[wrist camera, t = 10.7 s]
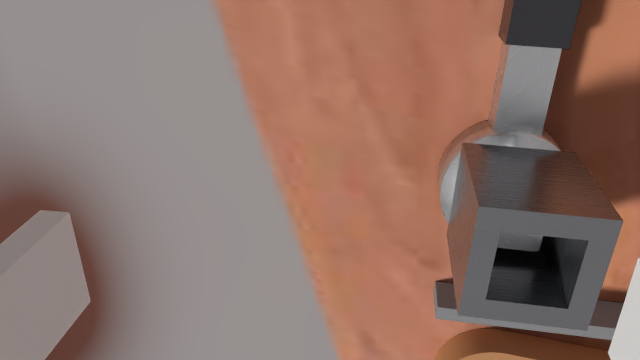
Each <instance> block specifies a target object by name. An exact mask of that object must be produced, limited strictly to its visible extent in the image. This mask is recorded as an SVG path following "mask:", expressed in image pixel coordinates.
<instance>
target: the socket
mask: <svg viewBox="0 0 640 360" xmlns="http://www.w3.org/2000/svg"><path fill="white" fill-rule="evenodd" d="M622 224H623V220H622V218H621V217H620V215H619V214H618V213H617V211H616V210H615V208H614V207H613V206H612V204H611V203H610V201H609V200H608V199H607V197H606V196H605V194H604V193H603V192H602V190H601V189H600V187H599V186H598V185H597V183H596V182H595V180H594V179H593V178H592V176H591V175H590V173H589V172H588V171H587V169H586V168H585V166H584V165H583V164H582V162H581V161H580V159H579V158H578V157H577V155H576V154H575V152H566V151H554V150H543V149H532V148H520V147H509V146H498V145H486V144H475V143H464V142H462V147H461V153H460V159H459V165H458V171H457V177H456V183H455V189H454V195H453V201H452V207H451V213H450V219H449V225H448V231H447V239H448V247H449V254H450V261H451V269H452V276H453V284H454V291H455V298H456V306H457V313H458V315H459V316H467V317H475V318H484V319H492V320H500V321H509V322H517V323H525V324H534V325H542V326H550V327H559V328H567V329H575V330H583V331H587V330H588V327H589V324H590V321H591V318H592V315H593V312H594V309H595V306H596V303H597V300H598V297H599V294H600V291H601V288H602V285H603V282H604V278H605V275H606V272H607V269H608V266H609V263H610V260H611V257H612V254H613V251H614V248H615V245H616V242H617V239H618V236H619V233H620V230H621V227H622ZM500 231H502V232H511V233H521V234H531V235H540V236H543V238H542V242H541V246H540V249H539V252H534V251H525V250H515V249H506V248H497V245H498V241H499V236H500Z"/></svg>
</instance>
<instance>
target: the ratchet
mask: <svg viewBox="0 0 640 360" xmlns="http://www.w3.org/2000/svg"><path fill="white" fill-rule="evenodd" d="M580 3H581V0H505V3H504V9H503V14H502V20H501V25H500V31H499V37H500V38H501V39H502V41H503V43H502V48H501V53H500V59H499V64H498V70H497V75H496V80H495V86H494V91H493V96H492V102H491V107H490V112H489V118H488V120H486V121H483V122H480V123H477V124H475V125H473V126H471V127H469V128H468V129H466V130H464V131H463V132H462V133H460V134H459V135H458V136H457V137H456V138H455V139H454V140H453V141H452V142H451V143H450V145H449V146H448V147H447V149H446V150H445V152H444V154H443V156H442V159H441V161H440V165H439V169H438V184H439V192H440V200H441V206H442V211H443V214H444V216H445V219H446V220H447V222H448V224H449V219H450V213H451V207H452V201H453V195H454V189H455V183H456V177H457V171H458V165H459V159H460V153H461V147H462V142H464V143H475V144H486V145H498V146H509V147H520V148H532V149H543V150H554V151H561V150H560V148H559V147H558V145H557V144H556V142H555V141H554V139H553V138H552V137H551V136H550V135H549V134H548V133H547V132H546V131H545V130H543V127H544V123H545V119H546V115H547V110H548V106H549V102H550V98H551V93H552V89H553V85H554V81H555V76H556V72H557V68H558V64H559V59H560V55H561V51H562V49H570V45H571V40H572V36H573V32H574V28H575V24H576V20H577V16H578V12H579V7H580ZM542 238H543V236H540V235H531V234H521V233H511V232H502V231H500V236H499V241H498V245H497V248H506V249H515V250H525V251H534V252H539V249H540V246H541V242H542Z"/></svg>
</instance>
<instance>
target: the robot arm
mask: <svg viewBox="0 0 640 360" xmlns="http://www.w3.org/2000/svg"><path fill="white" fill-rule="evenodd" d="M89 303H90V297H89V293H88V288H87V284H86V280H85V276H84V272H83V268H82V263H81V259H80V255H79V251H78V247H77V243H76V239H75V234H74V231H73V226H72V222H71V218H70V214H69V213H67V212H54V211H43V210H40V211H39V212H38V213H37V214H35V215H34V216H33V217H32V218H31V219H30V220H28V221H27V222H26V223H25V224H24V225H23V226H21V227H20V228H19V229H18V230H17V231H15V232H14V233H13V234H12V235H11V236H9V237H8V238H7V239H6V240H5V241H4V242H2V243H1V244H0V360H45V358H46V357H47V356H48V355H49V353H50V352H51V351H52V350H53V348H54V347H55V346H56V344H57V343H58V342H59V341H60V340H61V338H62V337H63V336H64V334H65V333H66V332H67V330H68V329H69V328H70V327H71V326H72V324H73V323H74V322H75V320H76V319H77V318H78V317H79V315H80V314H81V313H82V312H83V310H84V309H85V308H86V306H87V305H88V304H89ZM608 354H609V357H610V359H611V360H640V257H639V258H638V261H637V264H636V267H635V270H634V273H633V276H632V279H631V283H630V286H629V289H628V292H627V295H626V298H625V301H624V304H623V308H622V311H621V314H620V317H619V320H618V323H617V326H616V329H615V332H614V336H613V339H612V342H611V345H610V348H609V351H608Z"/></svg>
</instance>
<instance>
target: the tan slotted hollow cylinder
mask: <svg viewBox="0 0 640 360" xmlns="http://www.w3.org/2000/svg"><path fill="white" fill-rule="evenodd" d="M435 360H611V359H610V357H609V354H608V350H603V349H598V348H593V347H588V346H583V345H577V344H572V343H567V342H562V341H557V340H552V339H547V338H542V337H537V336H532V335H527V334H522V333H517V332H512V331H506V330H501V329H494V328H481V329H474V330H469V331H466V332H463V333H460V334H458V335H456V336H454V337H453V338H451V339H450V340H448V341H447V342H446V343H445V344H444V345H443V346H442V347H441V348H440V349H439V351H438V353H437V355H436V357H435Z"/></svg>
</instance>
